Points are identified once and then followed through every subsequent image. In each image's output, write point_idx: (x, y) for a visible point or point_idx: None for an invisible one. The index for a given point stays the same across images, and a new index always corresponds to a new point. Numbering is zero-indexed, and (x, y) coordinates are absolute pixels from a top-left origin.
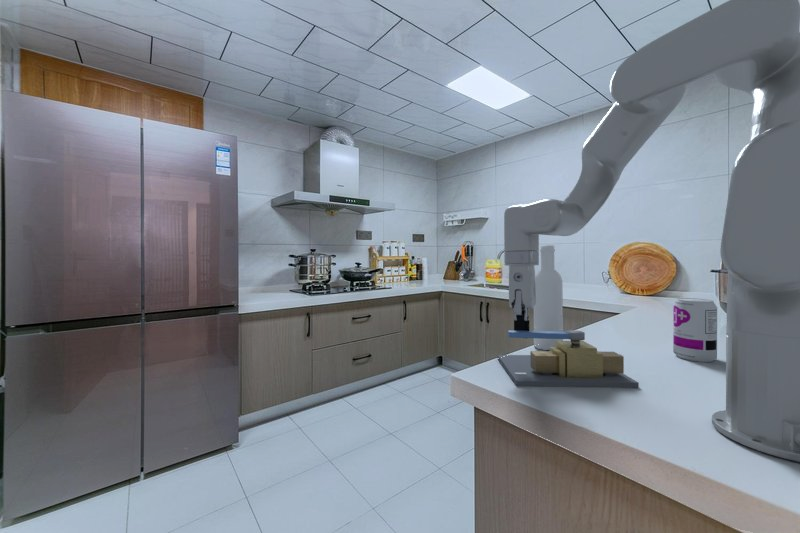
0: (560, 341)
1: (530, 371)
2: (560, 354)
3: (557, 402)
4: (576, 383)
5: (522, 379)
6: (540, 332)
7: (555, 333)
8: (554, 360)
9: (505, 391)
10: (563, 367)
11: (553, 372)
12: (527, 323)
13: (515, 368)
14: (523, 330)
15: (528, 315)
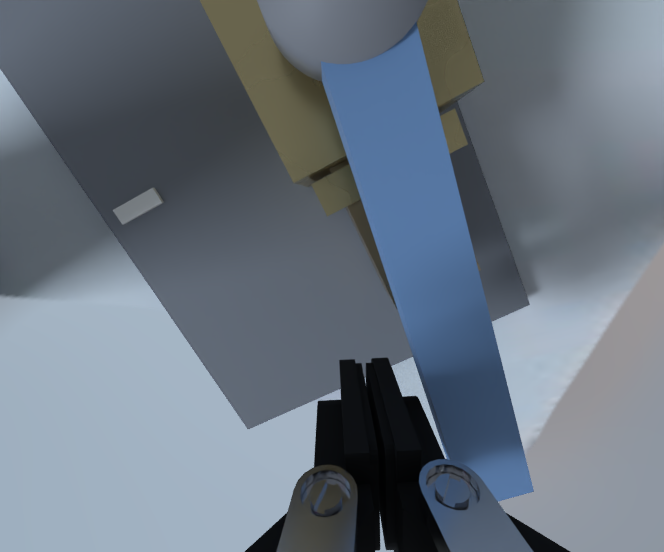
0: (299, 146)
1: None
2: (462, 138)
3: (623, 150)
4: None
5: (505, 288)
6: (456, 292)
7: (450, 162)
8: None
9: (579, 319)
10: None
11: None
12: (416, 440)
13: (389, 334)
14: (426, 419)
15: (307, 513)
